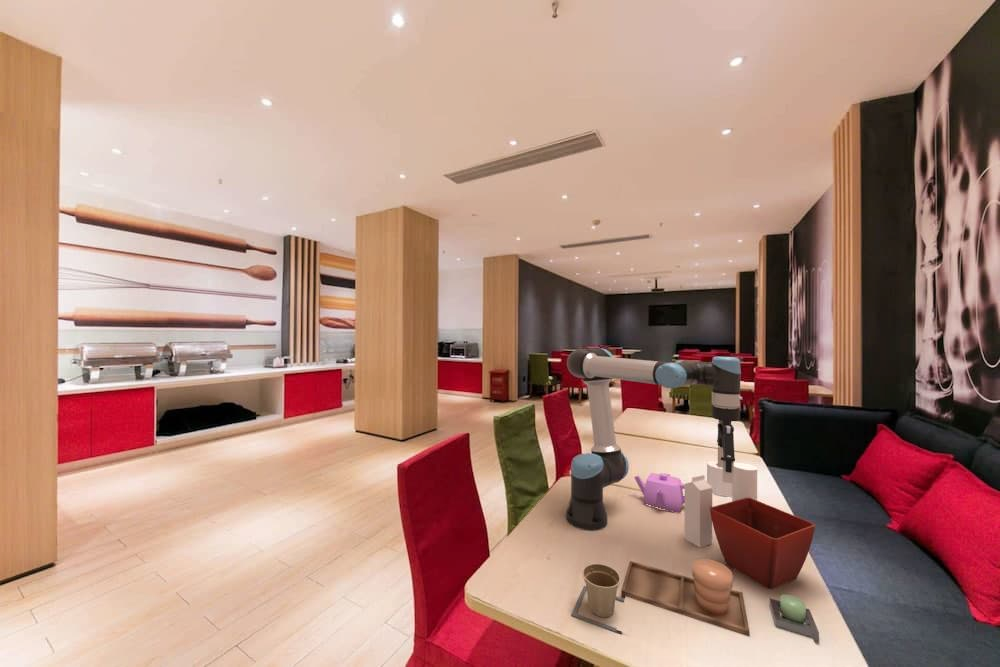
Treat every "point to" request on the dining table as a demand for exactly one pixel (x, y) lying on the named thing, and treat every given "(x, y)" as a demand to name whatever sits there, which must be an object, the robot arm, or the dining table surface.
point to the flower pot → (601, 588)
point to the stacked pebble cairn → (712, 585)
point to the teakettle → (662, 491)
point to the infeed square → (574, 614)
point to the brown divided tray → (680, 596)
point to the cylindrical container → (744, 481)
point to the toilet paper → (717, 480)
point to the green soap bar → (793, 608)
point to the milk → (698, 512)
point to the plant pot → (762, 540)
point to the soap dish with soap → (792, 626)
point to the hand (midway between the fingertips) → (725, 474)
